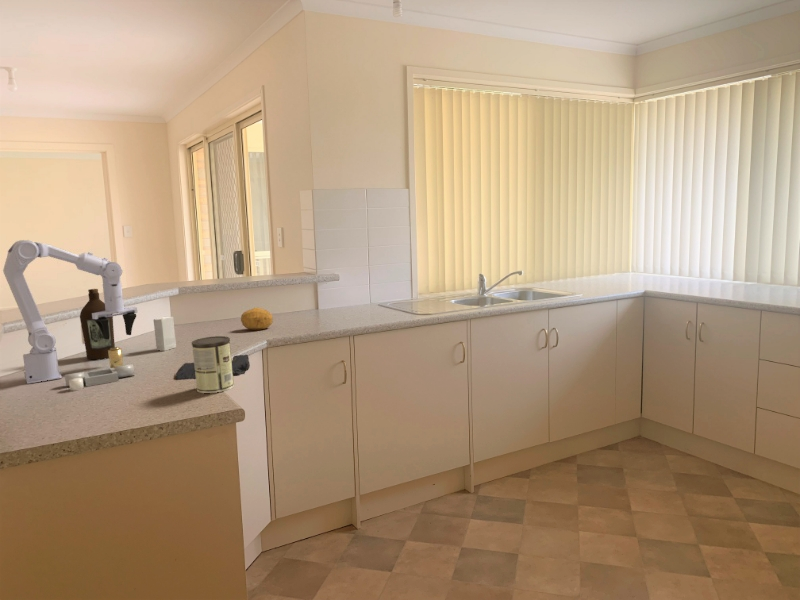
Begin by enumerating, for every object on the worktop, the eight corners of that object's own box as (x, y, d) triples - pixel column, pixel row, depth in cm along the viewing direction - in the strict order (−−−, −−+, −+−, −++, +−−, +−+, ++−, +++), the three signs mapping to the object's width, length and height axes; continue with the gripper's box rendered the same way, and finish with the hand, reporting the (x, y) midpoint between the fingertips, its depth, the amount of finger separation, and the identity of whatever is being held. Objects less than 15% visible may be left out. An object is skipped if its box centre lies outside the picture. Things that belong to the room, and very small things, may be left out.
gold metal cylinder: (111, 372, 197) (108, 349, 196) (109, 370, 200) (107, 347, 199) (124, 370, 199) (122, 347, 198) (123, 368, 202) (120, 346, 201)
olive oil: (83, 357, 223) (74, 289, 219) (114, 352, 229) (106, 286, 225) (87, 362, 214) (78, 292, 210) (119, 357, 220) (111, 288, 216)
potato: (270, 308, 256) (271, 303, 265) (238, 312, 253) (239, 307, 262) (273, 330, 258) (274, 324, 267) (241, 334, 256) (243, 328, 265)
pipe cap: (70, 391, 176) (69, 381, 176) (69, 389, 179) (68, 379, 179) (84, 389, 178) (83, 379, 178) (83, 386, 181) (82, 377, 181)
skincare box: (168, 347, 233) (164, 316, 231) (177, 347, 231) (173, 316, 229) (155, 350, 227) (152, 319, 226) (164, 351, 226) (161, 319, 224)
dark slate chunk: (184, 369, 198) (183, 355, 197) (252, 364, 200) (251, 350, 199) (171, 382, 183) (170, 367, 182) (245, 376, 185) (244, 361, 184)
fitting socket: (67, 389, 178) (65, 378, 178) (65, 383, 186) (63, 372, 185) (136, 377, 188) (134, 366, 188) (131, 372, 196) (130, 361, 195)
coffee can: (202, 384, 177) (197, 337, 175) (237, 382, 177) (233, 335, 175) (191, 394, 167) (186, 344, 165) (229, 392, 167) (224, 342, 165)
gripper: (97, 300, 196) (102, 341, 198) (140, 295, 207) (144, 334, 209) (87, 299, 200) (92, 339, 202) (129, 294, 211) (133, 332, 213)
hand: (117, 336), depth 206 cm, fingers open, 7 cm apart
